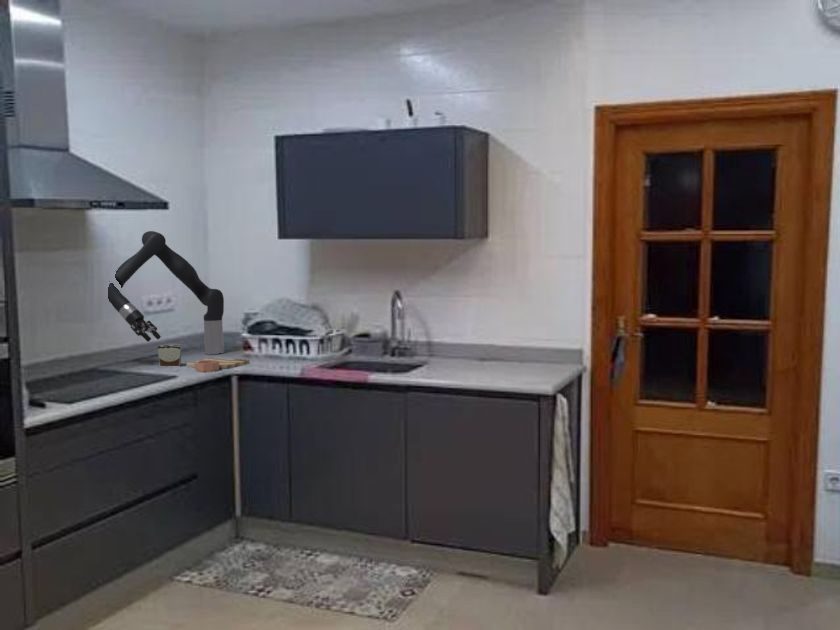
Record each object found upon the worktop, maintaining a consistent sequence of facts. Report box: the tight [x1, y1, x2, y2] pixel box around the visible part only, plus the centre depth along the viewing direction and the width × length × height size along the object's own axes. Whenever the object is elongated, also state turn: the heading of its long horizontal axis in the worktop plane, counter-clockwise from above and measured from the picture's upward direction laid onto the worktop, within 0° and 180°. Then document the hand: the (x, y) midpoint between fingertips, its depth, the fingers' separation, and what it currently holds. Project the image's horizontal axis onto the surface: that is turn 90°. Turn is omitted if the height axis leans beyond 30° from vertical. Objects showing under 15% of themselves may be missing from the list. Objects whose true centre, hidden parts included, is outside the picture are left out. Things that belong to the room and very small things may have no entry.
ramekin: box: [194, 360, 220, 373], centre depth 366 cm, size 10×10×4 cm
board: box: [186, 357, 250, 370], centre depth 381 cm, size 18×22×2 cm
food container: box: [155, 343, 184, 367], centre depth 381 cm, size 12×6×10 cm, turn 84°
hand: (154, 339), depth 382 cm, fingers open, 8 cm apart
